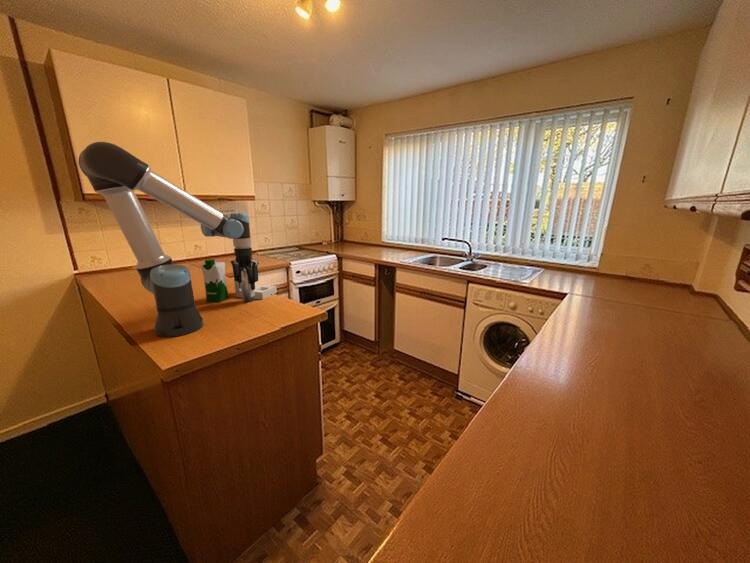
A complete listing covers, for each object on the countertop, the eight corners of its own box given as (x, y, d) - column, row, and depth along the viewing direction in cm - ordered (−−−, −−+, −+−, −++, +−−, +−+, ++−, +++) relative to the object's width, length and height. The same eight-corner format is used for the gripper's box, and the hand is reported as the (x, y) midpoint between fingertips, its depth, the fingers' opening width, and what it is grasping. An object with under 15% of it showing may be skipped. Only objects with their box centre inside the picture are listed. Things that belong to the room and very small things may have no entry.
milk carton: (203, 302, 141) (197, 260, 136) (215, 296, 150) (209, 257, 145) (221, 302, 140) (215, 261, 135) (231, 297, 149) (226, 257, 144)
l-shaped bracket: (262, 299, 145) (259, 266, 141) (236, 296, 149) (232, 265, 145) (276, 292, 156) (274, 262, 152) (251, 290, 160) (248, 261, 156)
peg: (249, 302, 140) (246, 271, 137) (242, 301, 141) (238, 271, 138) (255, 300, 144) (251, 269, 140) (247, 299, 145) (244, 269, 141)
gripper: (263, 246, 138) (268, 295, 143) (232, 245, 142) (238, 292, 148) (253, 249, 130) (258, 299, 136) (221, 247, 135) (227, 296, 141)
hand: (248, 295), depth 142 cm, fingers closed on peg, 4 cm apart
